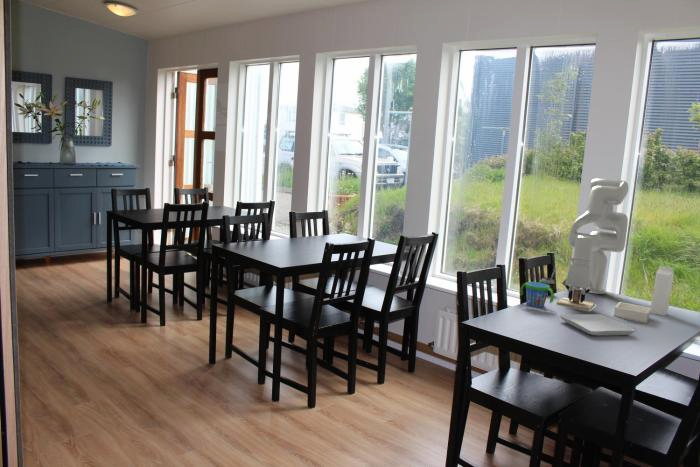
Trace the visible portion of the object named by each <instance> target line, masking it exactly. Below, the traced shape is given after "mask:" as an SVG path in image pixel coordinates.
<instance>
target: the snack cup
mask: <svg viewBox="0 0 700 467" xmlns="http://www.w3.org/2000/svg"><path fill="white" fill-rule="evenodd" d="M524 288H525V294H526V295H525V298H526V299H525V300H526V305H527V306H530V307H534V308H544V307H545V304H546V301H547V298H548V295H549V294H548V290H549V291H550V292H551V295H550V299H549V303H550V304H551V303H553V302H554V300H555V299H554V297H555V295H554V292H553V291H552V289H551V288H550V286H549V285H547V284H544V283H540V282H538V281H527V282H525V283H523V284H521V286H520V288H519V296H523V294H524V291H523V289H524Z"/></svg>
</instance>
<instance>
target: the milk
mask: <svg viewBox="0 0 700 467" xmlns="http://www.w3.org/2000/svg"><path fill="white" fill-rule="evenodd" d="M674 276H675V274H674V268H673V267H670V266H663V265H659V266H658V270H657V271H656V273H655V280H654V284H653V289H652V290H653V292H652V297H651V303H650V308H651V312H650V314H653V315H657V316H662V317H664V316H666V315H668V312H669V306H670V300H671V294H672V288H673V282H674Z"/></svg>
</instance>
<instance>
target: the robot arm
mask: <svg viewBox="0 0 700 467" xmlns="http://www.w3.org/2000/svg"><path fill="white" fill-rule="evenodd" d="M589 185H590V193H589V197H588V201H587V204H586V208H585V212H584V213H583V214H582V215H580V216H579V217H578V218H577V219H576V220H574V222H573V223H572V224H571V226H570V230H569V233H568V234H569V235H568V239H567V243H568V247H571V248H572V249H574V252H573V256H572V257H571V258H569V262H571V263H570V265H569V268H568V271H567V275H566V278H565V279H564V280H563V281H562V282H561V284H562V286H564V287H565V288H566V290H567V292H568V295H567V297H568V298H569V300H572V298H573V294H574V288H578V289H579V290H581V294H580V302H581V303H582V302H583V301H586V294H589V293H590V294H594V295H595V294H596V295H603V294H606V293H607V292H606V289H604V283H605V278H606V270H607V263H608V258H607V255H606V254H605V252H612V253H622V252H623V251H624V250H625V248H626V247H625V246H626V241H627V233H628V223H629V222H628V221H629V220H628V216H627V214H625V213H623V212H617V211H614V205H615V206H619V205H621V204H622V203H623V201H624V200H625V198H626V197H627V195H628V192H629V184H628V182H627V181H626V180H619V179H610V178H609V179H608V178H593V179H592V180H591V181H590V184H589ZM591 223H593V226H594V228H596V229H599V230H595V231H591V232H590V233H583V232H578V231H579V229H580V228H581V227H583V226H585V225H588V224H591ZM600 230H601V231H600ZM602 230H604V231H602ZM609 231H612V232H609ZM614 232H615V233H614Z"/></svg>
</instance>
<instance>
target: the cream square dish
mask: <svg viewBox="0 0 700 467" xmlns="http://www.w3.org/2000/svg"><path fill="white" fill-rule="evenodd" d="M650 312H651V307H648V306H642V305H638V304H633V303H628V302H622V301H619V302H618V303H617V304H616V305H615V306H614V311H613V316H614V317H618V318H623V320H626V321H630V322H636V323H640V324H645V325H646V324H647V323H648V321H649V320H650V316H651V313H650Z"/></svg>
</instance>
